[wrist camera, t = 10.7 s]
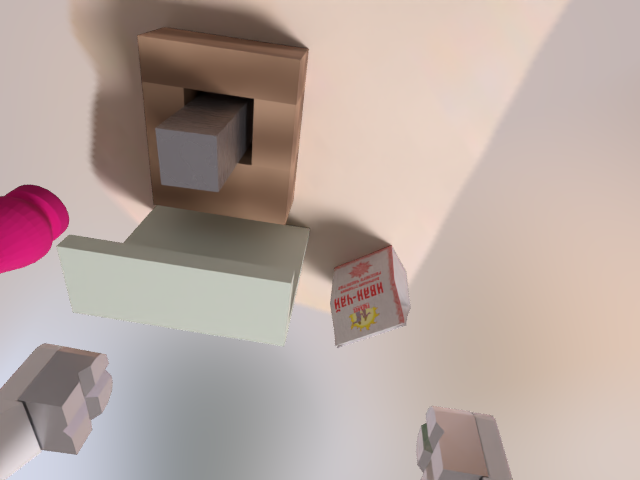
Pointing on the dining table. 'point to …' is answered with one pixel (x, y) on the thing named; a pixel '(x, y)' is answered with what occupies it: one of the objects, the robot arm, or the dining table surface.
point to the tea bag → (369, 297)
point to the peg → (204, 141)
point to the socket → (238, 80)
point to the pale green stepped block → (191, 274)
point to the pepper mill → (29, 225)
